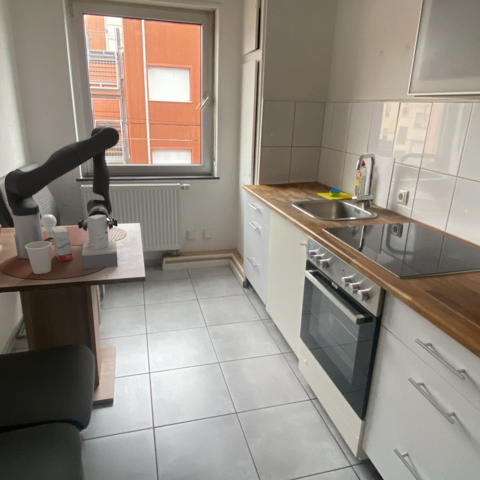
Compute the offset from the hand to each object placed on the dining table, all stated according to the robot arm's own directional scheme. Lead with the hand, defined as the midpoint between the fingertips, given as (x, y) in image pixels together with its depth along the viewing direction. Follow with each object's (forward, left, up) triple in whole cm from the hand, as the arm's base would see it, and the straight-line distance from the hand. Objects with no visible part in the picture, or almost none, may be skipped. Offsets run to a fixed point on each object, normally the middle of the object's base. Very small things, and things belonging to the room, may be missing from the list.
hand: (97, 227), depth 141 cm
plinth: (0, +1, -14) cm, 14 cm away
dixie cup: (-20, -3, -14) cm, 25 cm away
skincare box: (0, +1, -8) cm, 8 cm away
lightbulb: (-22, +37, -14) cm, 45 cm away
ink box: (-14, +9, -14) cm, 22 cm away
